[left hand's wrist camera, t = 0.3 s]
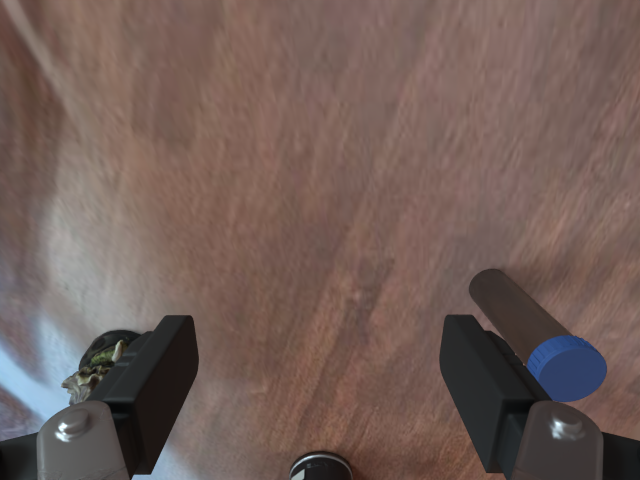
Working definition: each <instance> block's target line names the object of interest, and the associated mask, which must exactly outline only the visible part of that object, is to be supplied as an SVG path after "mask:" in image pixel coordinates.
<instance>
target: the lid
mask: <svg viewBox="0 0 640 480" xmlns="http://www.w3.org/2000/svg"><path fill="white" fill-rule="evenodd" d="M527 369H528V370H529V371H530V372H531V374H532V375H533V376H534V377H535V379H536V380H537V381H538V383H539V384H540V385H541V386H542V388H543V389H544V390H545V391H546V393H547V394H548V395H549V396H550V398H551V399H552V400H554V401H558V402H571V401H576V400H579V399H582V398H584V397H586V396H588V395H590V394H591V393H593V392H594V391H595V390H596V389H597V388H598V387H599V386H600V385H601V384H602V382H603V380H604V379H605V376H606V372H607V366H606V362H605V360H604V358H603V357H602V356H601V355H600V353H599V352H598V351H597V350H596V349H595V348H594V347H593V346H592V345H591V344H590V343H588V342H587V341H585V340H584V339H583V338H579V337H577V336H570V335H565V336H558V337H554V338H551V339H549V340H547V341H545V342H543V343H542V344H540V345H539V346H538V347H537V348H536V349H535V350H534V351H533V352H532V353H531V355H530V357H529V359H528V363H527Z"/></svg>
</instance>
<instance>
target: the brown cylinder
mask: <svg viewBox="0 0 640 480" xmlns="http://www.w3.org/2000/svg"><path fill="white" fill-rule="evenodd" d="M469 293H470V296H471V298H472V299H473V300H474V302H475V303H476V304H477V305H478V307H479V308H480V309H481V310H482V312H483V313H484V314H485V315H486V317H487V318H488V319H489V321H490V322H491V323H492V324H493V326H494V327H495V328H496V329H497V331H498V332H499V333H500V334H501V336H502V337H503V338H504V339H505V341H506V342H507V343H508V344H509V346H510V347H511V348H512V350H513V351H514V352H515V353H516V355H517V356H518V357H519V358H520V360H521V361H522V362H523V363H524V365H525V366H526V367H527V363H528V359H529V357H530V355H531V353H532V352H533V351H534V350H535V349H536V348H537V347H538V346H539V345H540V344H542V343H543V342H545V341H547V340H549V339H551V338H554V337H558V336H565V335H570V336H573V335H572V334H571V333H570V332H569V331H568V330H567V329H566V328H564V327H563V326H562V325H561V324H560V323H559V322H558V321H557V320H556V319H554V318H553V317H552V316H551V315H550V314H549V313H548V312H547V311H546V310H544V309H543V308H542V307H541V306H540V305H539V304H538V303H537V302H536V301H535V300H533V299H532V298H531V297H530V296H529V295H528V294H527V293H526V292H525V291H523V290H522V289H521V288H520V287H519V286H518V285H517V284H516V283H515V282H513V281H512V280H511V279H510V278H509V277H508V276H507V275H506V274H505V273H503V272H502V271H500V270H496V269H488V270H484V271H482V272H480V273H478V274H477V275H476V276H475V277H474V278H473V279H472V281H471V283H470V286H469Z"/></svg>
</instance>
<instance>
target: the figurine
mask: <svg viewBox="0 0 640 480" xmlns="http://www.w3.org/2000/svg"><path fill="white" fill-rule="evenodd" d="M140 336H141V335H140V334H137V333H134V332H131V331H125V330H117V331H110V332H106V333H104V334H102V335H101V336H99V337H97V338H96V339H95V340H94V341H93V343H92V344H91V346H90V347H89V348H88V350H87V351H86V353H85V354H84V356H83V357H82V359H81V361H80V364H79V371H77V372H76V373H74V374H73V376H70V377H68V378H67V379H66V380H64V381H63V383H62V384H61V387H63V388H68V391H67V392H68V393H70V394H71V398H70V401H69V405H70V406H71V405H74V404H77V403H80V402H84V401H85V400H86V399H87V398H88V396H89V395H90V394H91V393H92V391H93V390H94V389H95V388H96V386H97V385H98V384H99V383H100V381H101V380H102V379H103V378H104V376H105V375H106V374H107V373H108V371H109V370H110V369H111V368H112V366H114V365H115V363H116V361H117V360H118V359H119V358H120V356H122V355H123V353H124V351H125V350H126V349H127V348H128V346H129V345H130V344H131V343H132V341H134V340H135V339H137V338H138V337H140Z"/></svg>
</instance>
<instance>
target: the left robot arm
mask: <svg viewBox="0 0 640 480" xmlns="http://www.w3.org/2000/svg"><path fill="white" fill-rule="evenodd" d="M439 361H440V369H441V373H442V376H443V379H444V381H445V383H446V385H447V387H448V390H449V392H450V394H451V396H452V398H453V401H454V403H455V405H456V407H457V409H458V412H459V414H460V416H461V418H462V420H463V423H464V425H465V427H466V429H467V431H468V434H469V436H470V438H471V440H472V442H473V445H474V447H475V449H476V451H477V453H478V456H479V458H480V460H481V462H482V464H483V467H484V469H485V471H486V473H503V474H504V476H505V478H506V480H640V441H638V440H634V439H630V438H626V437H621V436H617V435H613V434H609V433H605V432H601V431H600V429H599V427H598V426H597V425H596V424H595V423H594V422H593V421H592V420H591V419H590V418H589V417H588V416H586V415H585V414H584V413H582V412H580V411H579V410H577V409H575V408H573V407H571V406H569V405H566V404H563V403H560V402H556V401H553V400H552V399H551V398H550V396H549V395H548V394H547V393H546V391H545V390H544V389H543V388H542V386H541V385H540V384H539V383H538V381H537V380H536V379H535V377H534V376H533V375H532V374H531V372H530V371H529V370H528V369H527V367H526V366H525V365H523V362H522V361H521V360H520V359H519V357H518V356H517V355H515V352H514V351H513V350H512V348H511V347H510V346H509V345H508V343H507V342H506V341H505V340H503V339H502V338H501V337H499V336H498V335H496V334H495V333H493V332H492V331H484V329H483V328H482V327H481V325H480V324H479V323H478V321H477V320H476V319H475V317H474V316H473V315H447V316H446V317H445V320H444V327H443V334H442V341H441V349H440V357H439ZM198 364H199V356H198V348H197V341H196V334H195V327H194V321H193V318H192V316H191V315H166V316H165V317H164V318H163V319H162V320H161V322H160V323H159V324H158V326H157V327H156V329H155V330H154V331H147V332H146V333H144V334H143V335H141V336H140V337H138V338H137V339H135V340H134V341H132V343H131V344H130V345H129V346H128V348H127V349H126V350H125V351H124V353H123V355H122V356H120V358H119V359H118V360H117V361H116V363H115V365H114V366H112V368H111V369H110V370H109V371H108V373H107V374H106V375H105V376H104V378H103V379H102V380H101V381H100V383H99V384H98V385H97V386H96V388H95V389H94V390H93V391H92V393H91V394H90V395H89V396H88V398H87V399H86V400H85V401H84V402H80V403H77V404H74V405H71V406H69V407H67V408H65V409H63V410H61V411H60V412H58V413H56V414H55V415H54V416H52V417H51V418H50V419H49V420H48V421H47V422H46V423H45V424H44V425H43V426H42V427H41V429H40V431H39V432H37V433H33V434H29V435H25V436H21V437H17V438H13V439H9V440H5V441H1V442H0V480H131V479H132V477H133V475H151V473H152V471H153V469H154V467H155V464H156V462H157V460H158V458H159V456H160V453H161V451H162V449H163V447H164V445H165V443H166V440H167V438H168V436H169V434H170V432H171V430H172V427H173V425H174V423H175V421H176V419H177V417H178V414H179V412H180V410H181V408H182V406H183V404H184V401H185V399H186V397H187V395H188V393H189V390H190V388H191V386H192V384H193V382H194V380H195V377H196V375H197V371H198ZM289 480H353V478H352V470H351V467H350V465H349V463H348V462H347V461H346V460H345V459H343V458H342V457H340V456H339V455H336V454H333V453H330V452H312V453H308V454H306V455H303V456H301V457H300V458H298V459H297V460H296V461H295V462H294V463H293V465H292V466H291V469H290V475H289Z"/></svg>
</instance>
